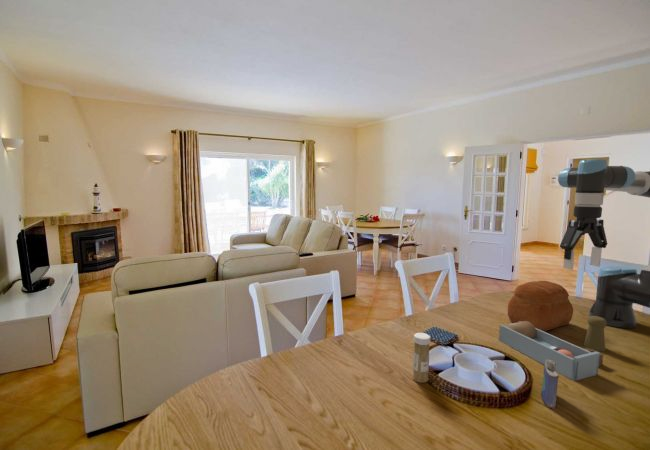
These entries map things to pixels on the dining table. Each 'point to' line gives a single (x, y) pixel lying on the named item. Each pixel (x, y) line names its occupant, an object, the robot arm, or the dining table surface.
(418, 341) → the sprinkles bottle
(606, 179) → the robot arm
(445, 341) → the woven mat
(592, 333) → the cork
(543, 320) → the bread
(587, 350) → the hollow square tube
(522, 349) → the long open box
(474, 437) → the dining table surface
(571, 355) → the ball
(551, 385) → the flask
